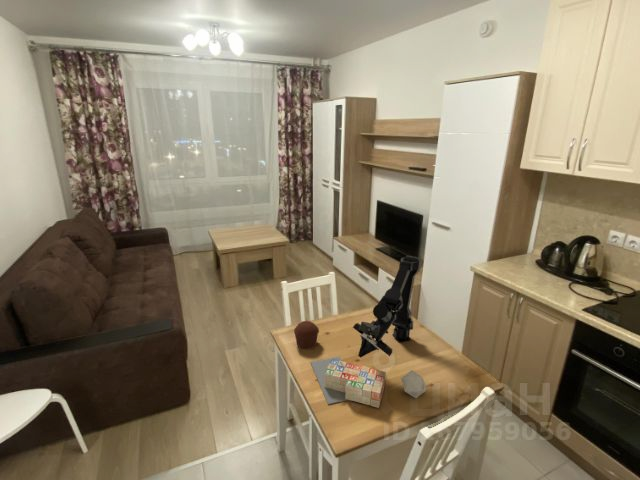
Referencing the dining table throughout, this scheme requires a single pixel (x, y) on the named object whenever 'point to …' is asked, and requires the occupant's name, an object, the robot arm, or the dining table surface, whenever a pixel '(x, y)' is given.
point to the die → (413, 384)
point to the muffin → (306, 334)
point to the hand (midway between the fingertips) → (359, 356)
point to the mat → (319, 371)
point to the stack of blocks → (356, 382)
